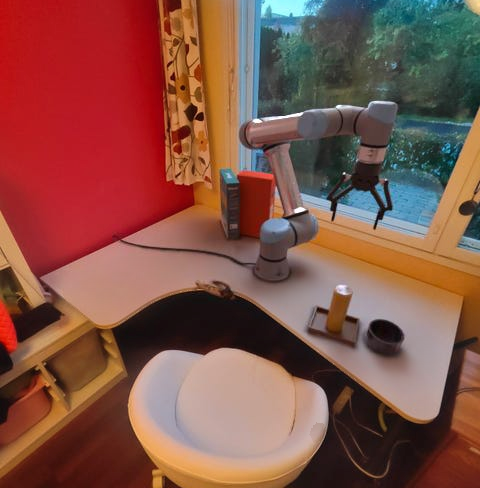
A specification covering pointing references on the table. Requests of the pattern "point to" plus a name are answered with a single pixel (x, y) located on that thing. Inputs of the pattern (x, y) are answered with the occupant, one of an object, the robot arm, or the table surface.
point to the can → (338, 308)
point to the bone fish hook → (217, 289)
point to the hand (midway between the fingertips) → (353, 223)
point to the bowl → (384, 337)
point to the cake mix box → (229, 203)
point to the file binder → (255, 201)
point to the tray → (343, 336)
